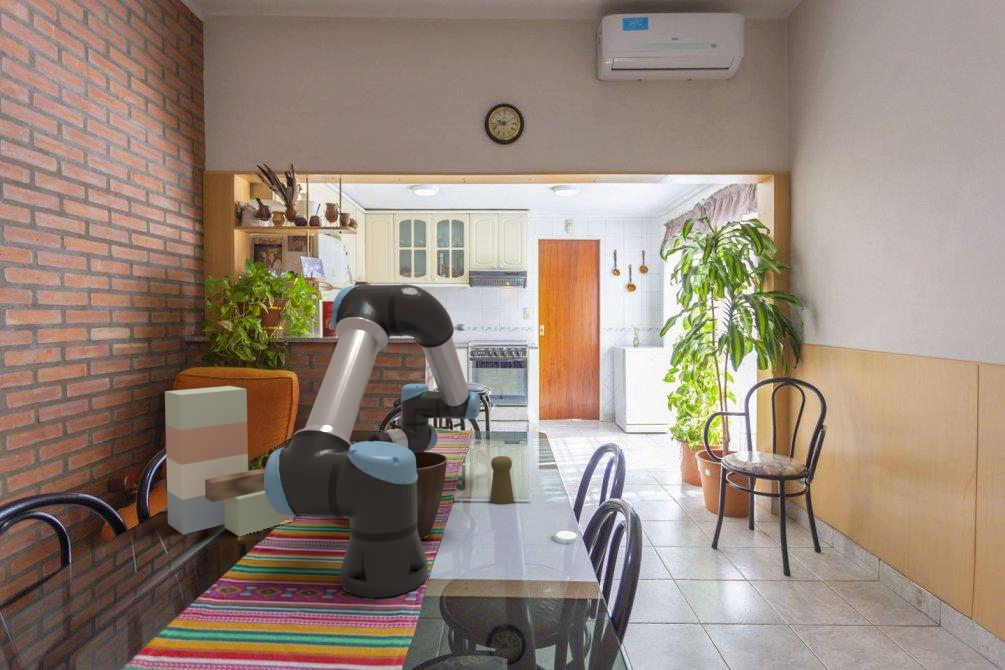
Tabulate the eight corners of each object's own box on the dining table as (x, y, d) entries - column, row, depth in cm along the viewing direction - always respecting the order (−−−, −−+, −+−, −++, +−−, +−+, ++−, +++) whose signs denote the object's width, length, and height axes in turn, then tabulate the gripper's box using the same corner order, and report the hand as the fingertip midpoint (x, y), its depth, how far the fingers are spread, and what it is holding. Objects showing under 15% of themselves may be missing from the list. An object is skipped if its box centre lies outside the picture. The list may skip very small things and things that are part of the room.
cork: (514, 496, 145) (514, 454, 145) (512, 504, 139) (512, 460, 139) (491, 496, 145) (490, 453, 145) (488, 503, 139) (488, 459, 139)
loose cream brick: (277, 513, 133) (277, 480, 133) (293, 521, 128) (293, 486, 128) (224, 527, 125) (224, 491, 125) (239, 536, 119) (238, 499, 119)
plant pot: (435, 551, 111) (434, 470, 110) (364, 546, 114) (363, 467, 113) (456, 524, 125) (455, 452, 125) (393, 520, 128) (392, 450, 128)
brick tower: (231, 508, 138) (229, 385, 137) (249, 517, 131) (246, 388, 130) (167, 523, 128) (164, 391, 127) (182, 534, 121) (179, 395, 120)
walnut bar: (318, 473, 139) (318, 457, 139) (326, 476, 136) (326, 460, 136) (205, 498, 120) (205, 479, 120) (212, 502, 117) (212, 483, 117)
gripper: (416, 467, 143) (342, 485, 128) (360, 452, 160) (289, 467, 145) (415, 437, 143) (341, 452, 128) (360, 426, 160) (288, 438, 144)
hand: (313, 460), depth 136 cm, fingers open, 13 cm apart
